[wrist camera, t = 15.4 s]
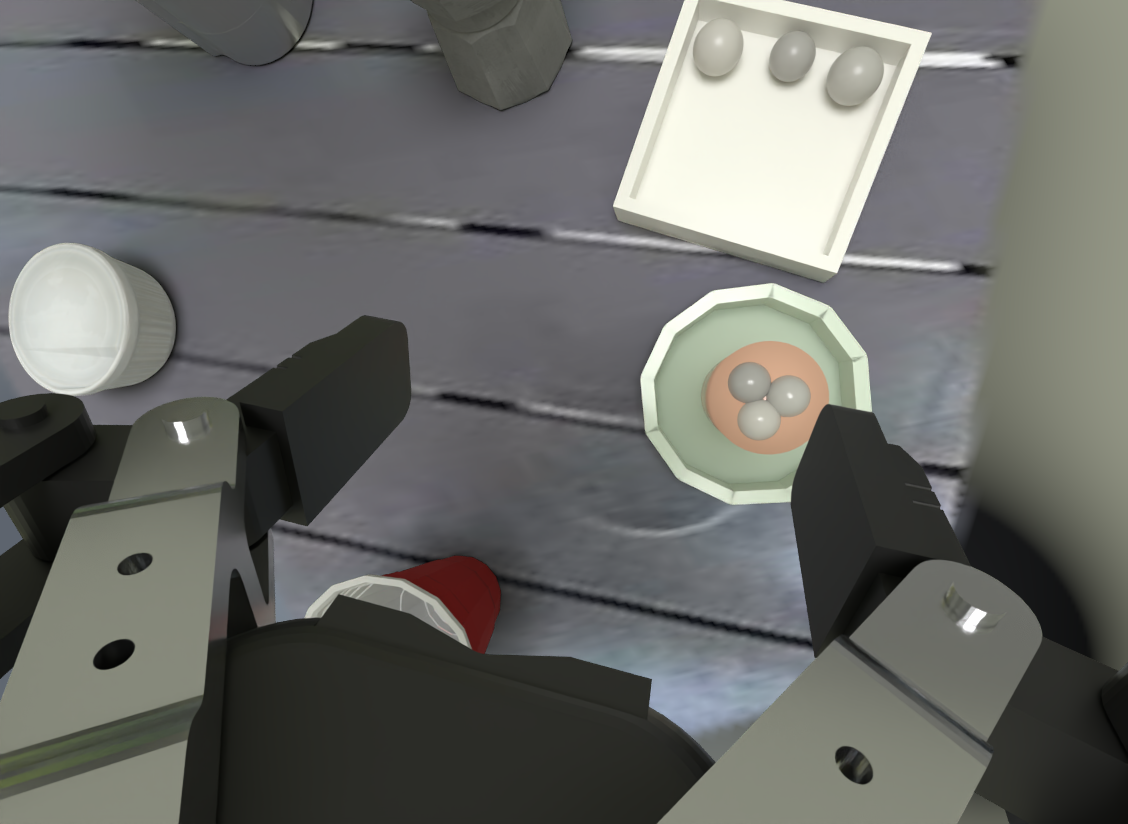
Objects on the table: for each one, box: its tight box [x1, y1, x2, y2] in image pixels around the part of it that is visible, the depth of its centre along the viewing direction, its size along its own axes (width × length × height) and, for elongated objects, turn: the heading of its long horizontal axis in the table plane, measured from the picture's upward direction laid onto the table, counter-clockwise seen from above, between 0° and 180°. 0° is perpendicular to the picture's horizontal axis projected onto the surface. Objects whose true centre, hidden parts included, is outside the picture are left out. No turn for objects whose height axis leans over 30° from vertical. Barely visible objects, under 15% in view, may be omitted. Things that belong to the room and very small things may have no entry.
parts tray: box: [613, 0, 932, 283], centre depth 35 cm, size 14×14×4 cm
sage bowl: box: [640, 283, 872, 505], centre depth 35 cm, size 13×13×4 cm
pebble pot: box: [701, 341, 829, 454], centre depth 31 cm, size 5×5×11 cm
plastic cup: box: [305, 556, 501, 654], centre depth 36 cm, size 11×11×12 cm
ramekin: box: [9, 243, 176, 396], centre depth 44 cm, size 11×11×5 cm
